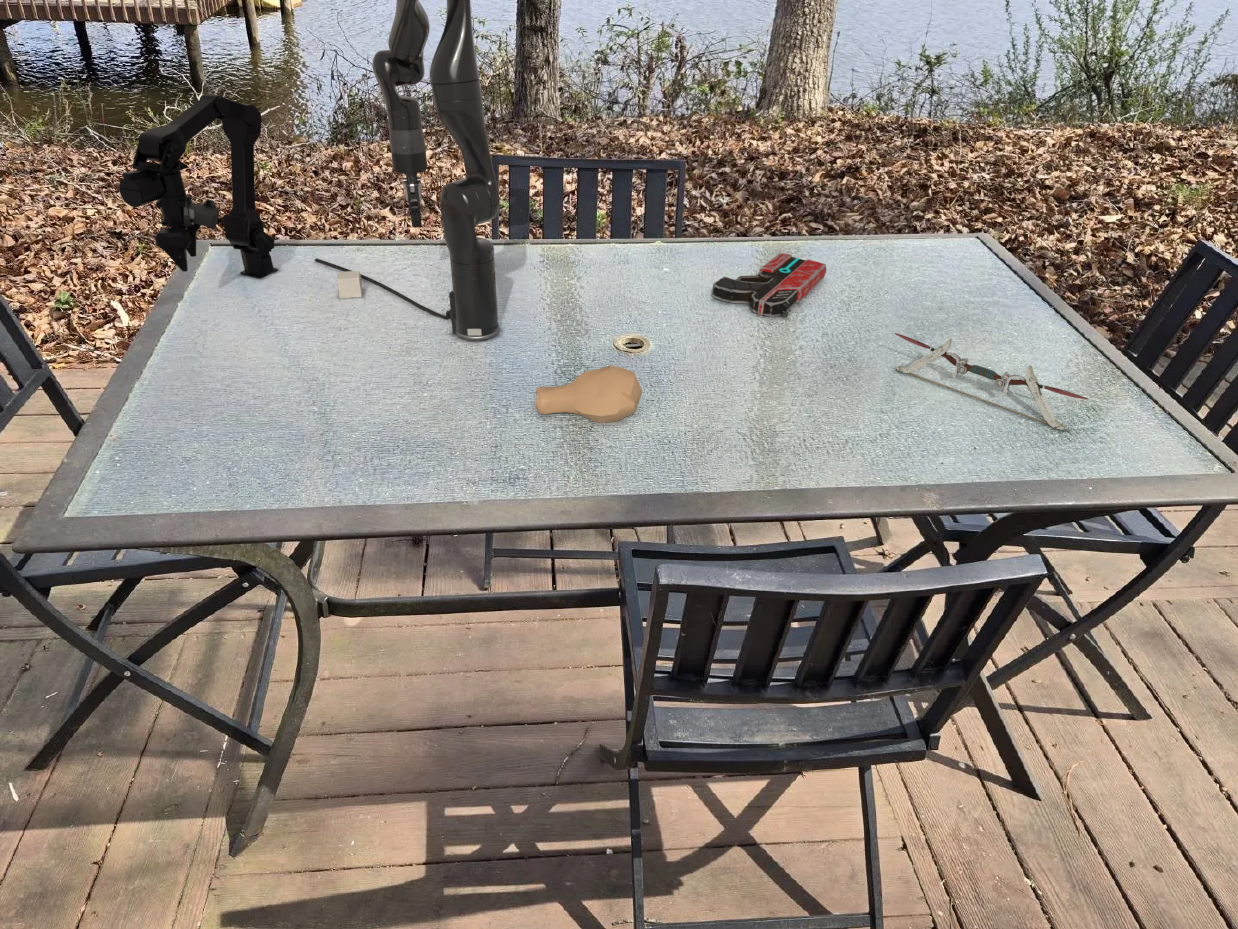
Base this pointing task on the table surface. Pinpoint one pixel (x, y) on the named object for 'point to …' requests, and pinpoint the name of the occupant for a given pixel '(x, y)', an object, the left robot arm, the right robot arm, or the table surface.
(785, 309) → the gun
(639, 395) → the squash
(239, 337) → the table surface
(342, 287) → the beige cube
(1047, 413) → the bow
